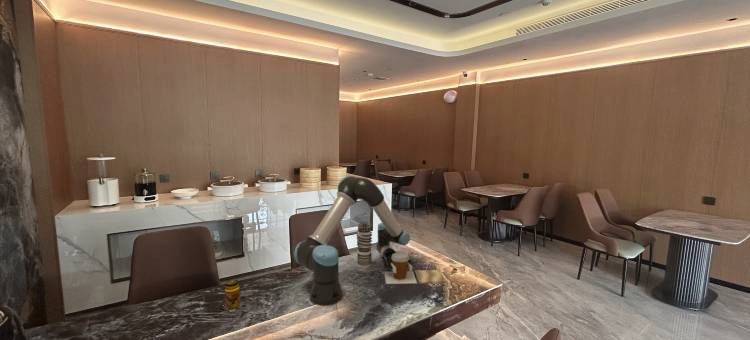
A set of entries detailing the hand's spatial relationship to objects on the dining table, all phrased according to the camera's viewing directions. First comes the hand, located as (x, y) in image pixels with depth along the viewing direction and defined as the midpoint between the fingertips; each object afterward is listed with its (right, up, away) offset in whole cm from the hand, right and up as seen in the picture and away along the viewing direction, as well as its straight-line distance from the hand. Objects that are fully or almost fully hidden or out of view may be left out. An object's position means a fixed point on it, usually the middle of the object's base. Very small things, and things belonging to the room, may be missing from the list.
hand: (403, 269), depth 164 cm
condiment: (-78, -10, -23) cm, 82 cm away
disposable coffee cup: (-1, -6, +5) cm, 8 cm away
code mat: (-1, -6, +5) cm, 8 cm away
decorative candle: (-21, -4, +23) cm, 31 cm away
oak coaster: (+15, -6, +6) cm, 17 cm away
